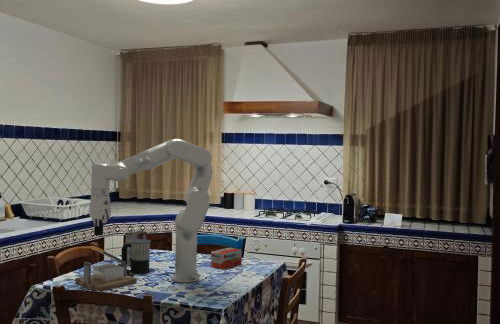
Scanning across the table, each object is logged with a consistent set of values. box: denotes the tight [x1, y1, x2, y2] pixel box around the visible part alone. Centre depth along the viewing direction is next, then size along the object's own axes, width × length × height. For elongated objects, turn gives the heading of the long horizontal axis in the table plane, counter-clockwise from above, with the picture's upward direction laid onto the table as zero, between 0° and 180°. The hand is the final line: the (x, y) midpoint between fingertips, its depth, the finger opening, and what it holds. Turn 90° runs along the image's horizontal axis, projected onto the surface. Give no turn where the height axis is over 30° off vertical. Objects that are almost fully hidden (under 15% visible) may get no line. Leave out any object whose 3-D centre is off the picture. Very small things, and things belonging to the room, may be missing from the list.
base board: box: [74, 274, 138, 292], centre depth 214 cm, size 18×19×2 cm
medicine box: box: [210, 247, 243, 270], centre depth 251 cm, size 15×8×8 cm, turn 142°
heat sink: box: [83, 261, 128, 283], centre depth 213 cm, size 10×18×8 cm, turn 137°
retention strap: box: [90, 245, 126, 264], centre depth 214 cm, size 17×6×1 cm, turn 138°
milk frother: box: [121, 239, 152, 277], centre depth 231 cm, size 14×16×15 cm
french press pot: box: [125, 230, 148, 266], centre depth 249 cm, size 9×6×16 cm
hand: (98, 235), depth 210 cm, fingers closed
